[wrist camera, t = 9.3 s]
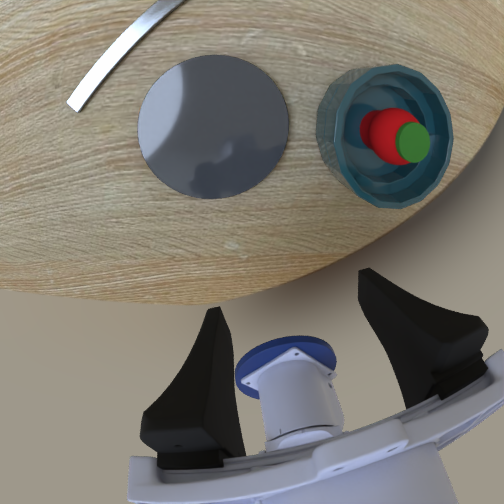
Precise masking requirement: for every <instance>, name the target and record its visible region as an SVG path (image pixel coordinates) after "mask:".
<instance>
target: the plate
mask: <svg viewBox="0 0 504 504" xmlns="http://www.w3.org/2000/svg"><path fill="white" fill-rule="evenodd" d="M288 131H289V119H288V111H287V108H286V104H285V101H284V99H283V96H282V94H281V92H280V91H279V89H278V87H277V86H276V84H275V83H274V82H273V81H272V80H271V78H270V77H269V76H268V75H266V74H265V73H264V72H263V71H262V70H261V69H259V68H258V67H256V66H255V65H253V64H251V63H249V62H247V61H245V60H242V59H239V58H236V57H231V56H226V55H205V56H200V57H195V58H192V59H189V60H186V61H183V62H181V63H179V64H177V65H175V66H174V67H172V68H171V69H169V70H168V71H166V72H165V73H164V74H163V75H162V76H161V77H160V78H159V79H158V80H157V81H156V82H155V83H154V84H153V85H152V87H151V88H150V90H149V91H148V93H147V95H146V97H145V99H144V101H143V103H142V106H141V109H140V112H139V118H138V129H137V133H138V141H139V145H140V149H141V152H142V155H143V157H144V159H145V161H146V163H147V165H148V166H149V168H150V169H151V170H152V172H153V173H154V174H155V175H156V176H157V177H158V178H159V179H160V180H161V181H162V182H163V183H165V184H166V185H167V186H169V187H170V188H172V189H174V190H175V191H178V192H180V193H182V194H185V195H188V196H191V197H196V198H202V199H219V198H226V197H231V196H234V195H237V194H240V193H242V192H244V191H247V190H249V189H250V188H252V187H254V186H255V185H257V184H258V183H259V182H261V181H262V180H263V179H264V178H265V177H266V176H267V175H268V174H269V173H270V172H271V171H272V170H273V169H274V167H275V166H276V165H277V163H278V161H279V160H280V158H281V156H282V154H283V151H284V149H285V146H286V142H287V138H288Z"/></svg>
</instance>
